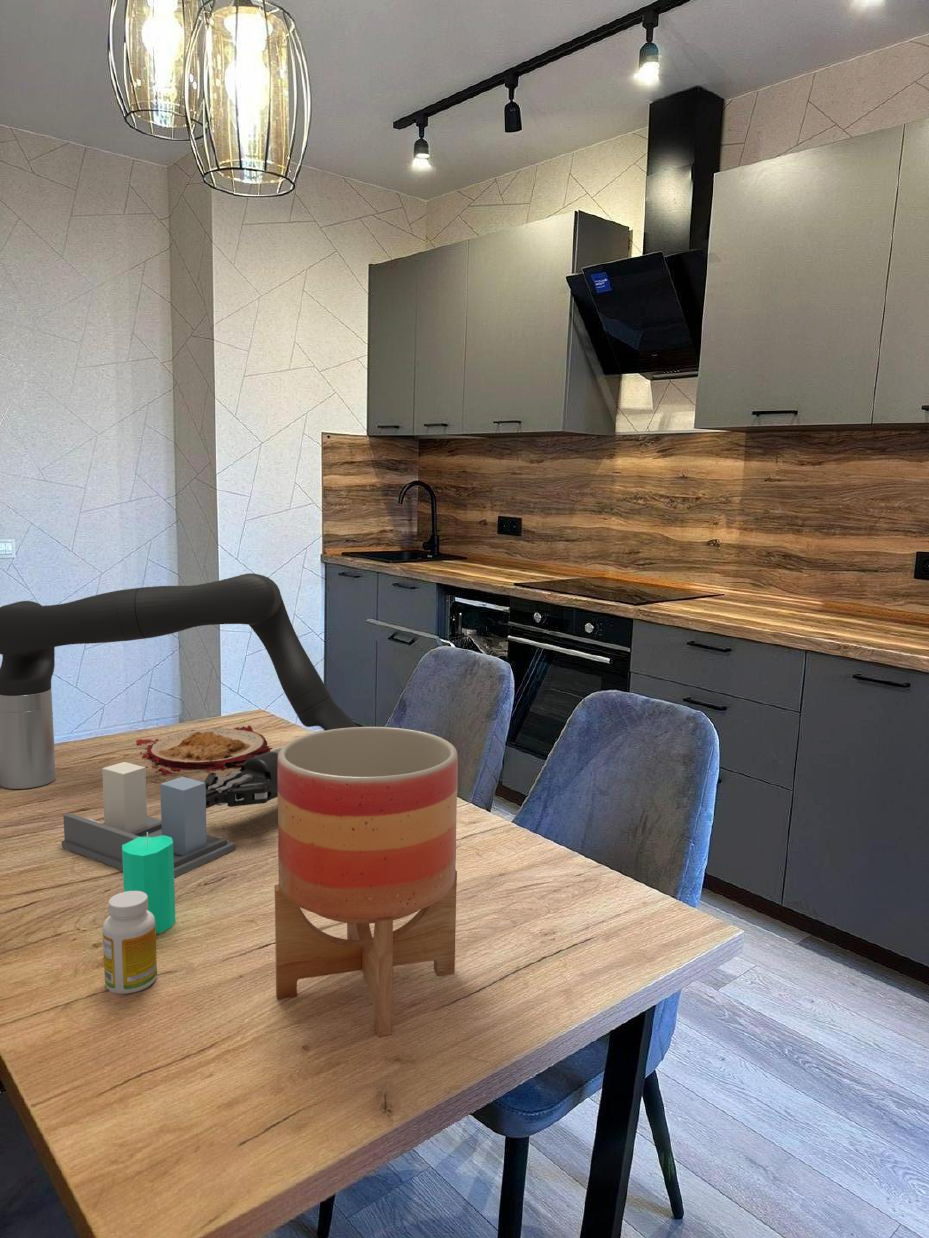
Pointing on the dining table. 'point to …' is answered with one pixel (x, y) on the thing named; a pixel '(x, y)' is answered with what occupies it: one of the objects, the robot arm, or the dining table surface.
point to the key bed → (108, 841)
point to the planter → (366, 856)
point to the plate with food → (205, 749)
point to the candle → (152, 876)
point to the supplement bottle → (129, 944)
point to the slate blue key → (184, 814)
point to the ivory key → (125, 797)
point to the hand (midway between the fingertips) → (193, 803)
